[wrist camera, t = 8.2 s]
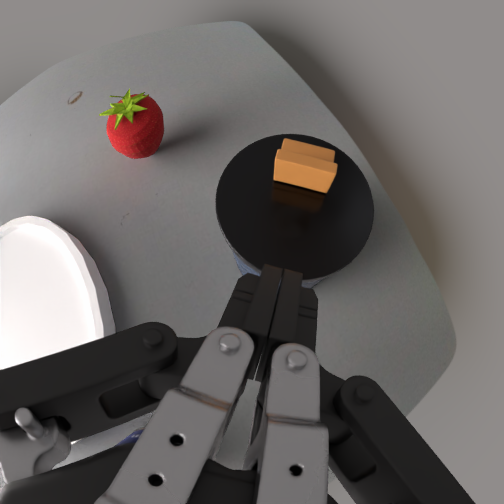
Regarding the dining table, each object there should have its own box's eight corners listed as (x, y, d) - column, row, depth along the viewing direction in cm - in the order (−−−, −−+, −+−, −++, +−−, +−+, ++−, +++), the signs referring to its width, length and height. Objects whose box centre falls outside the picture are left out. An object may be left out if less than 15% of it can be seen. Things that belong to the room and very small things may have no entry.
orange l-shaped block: (326, 194, 16) (336, 174, 14) (273, 180, 16) (275, 158, 14) (333, 155, 17) (342, 132, 14) (283, 143, 17) (286, 119, 15)
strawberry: (132, 188, 29) (89, 136, 19) (125, 138, 31) (90, 84, 21) (182, 168, 29) (154, 107, 20) (169, 120, 31) (145, 60, 22)
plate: (91, 485, 20) (81, 493, 18) (-36, 368, 23) (-46, 368, 21) (155, 267, 27) (146, 261, 24) (7, 200, 30) (-3, 194, 27)
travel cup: (320, 309, 25) (361, 298, 15) (220, 283, 26) (193, 254, 16) (339, 215, 28) (379, 155, 17) (247, 192, 28) (241, 120, 18)
